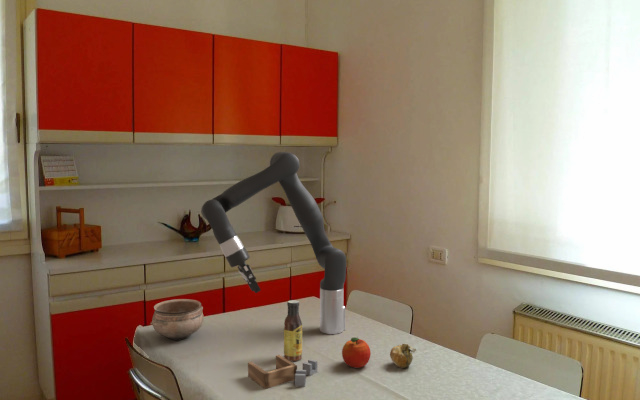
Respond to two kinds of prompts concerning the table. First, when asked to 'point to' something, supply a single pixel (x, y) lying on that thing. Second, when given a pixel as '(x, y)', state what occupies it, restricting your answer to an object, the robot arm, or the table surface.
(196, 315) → the cooking pot
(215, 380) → the table surface
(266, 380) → the frame
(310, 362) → the clip
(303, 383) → the clip
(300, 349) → the sauce bottle
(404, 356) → the onion
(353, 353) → the fruit
